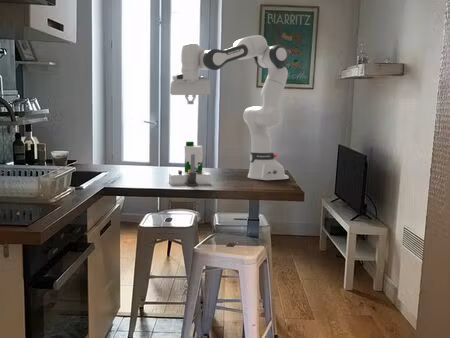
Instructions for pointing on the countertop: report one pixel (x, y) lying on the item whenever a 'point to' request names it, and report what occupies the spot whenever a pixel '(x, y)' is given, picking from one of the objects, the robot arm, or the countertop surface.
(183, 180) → the breaker box
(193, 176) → the grey stepped post
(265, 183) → the countertop surface
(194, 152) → the soya milk
